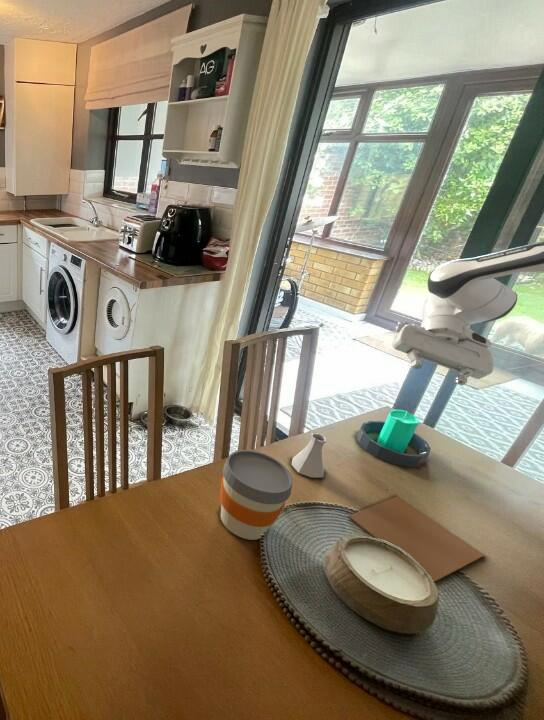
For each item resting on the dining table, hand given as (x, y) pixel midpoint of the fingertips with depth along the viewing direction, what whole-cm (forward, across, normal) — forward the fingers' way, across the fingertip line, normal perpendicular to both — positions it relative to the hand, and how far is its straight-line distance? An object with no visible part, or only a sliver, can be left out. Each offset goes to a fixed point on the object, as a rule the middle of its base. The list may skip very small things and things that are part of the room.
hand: (438, 375), depth 103 cm
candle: (+15, +1, +18) cm, 23 cm away
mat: (+43, 0, +2) cm, 43 cm away
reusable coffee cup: (+58, -31, +2) cm, 66 cm away
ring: (+14, +1, +17) cm, 23 cm away
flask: (+34, -18, +12) cm, 40 cm away
